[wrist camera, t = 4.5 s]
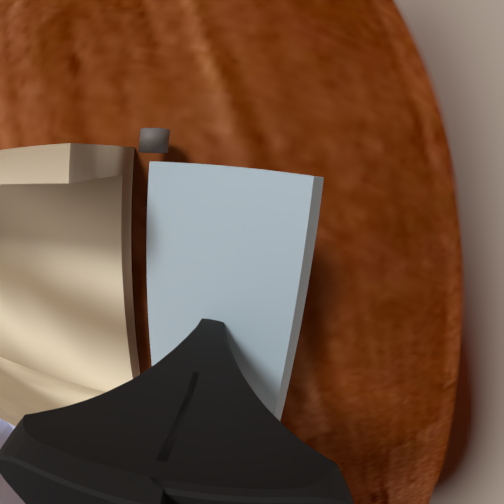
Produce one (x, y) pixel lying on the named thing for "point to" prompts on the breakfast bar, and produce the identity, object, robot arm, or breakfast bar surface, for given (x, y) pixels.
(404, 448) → the breakfast bar surface
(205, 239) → the panel
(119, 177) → the box
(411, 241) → the breakfast bar surface
